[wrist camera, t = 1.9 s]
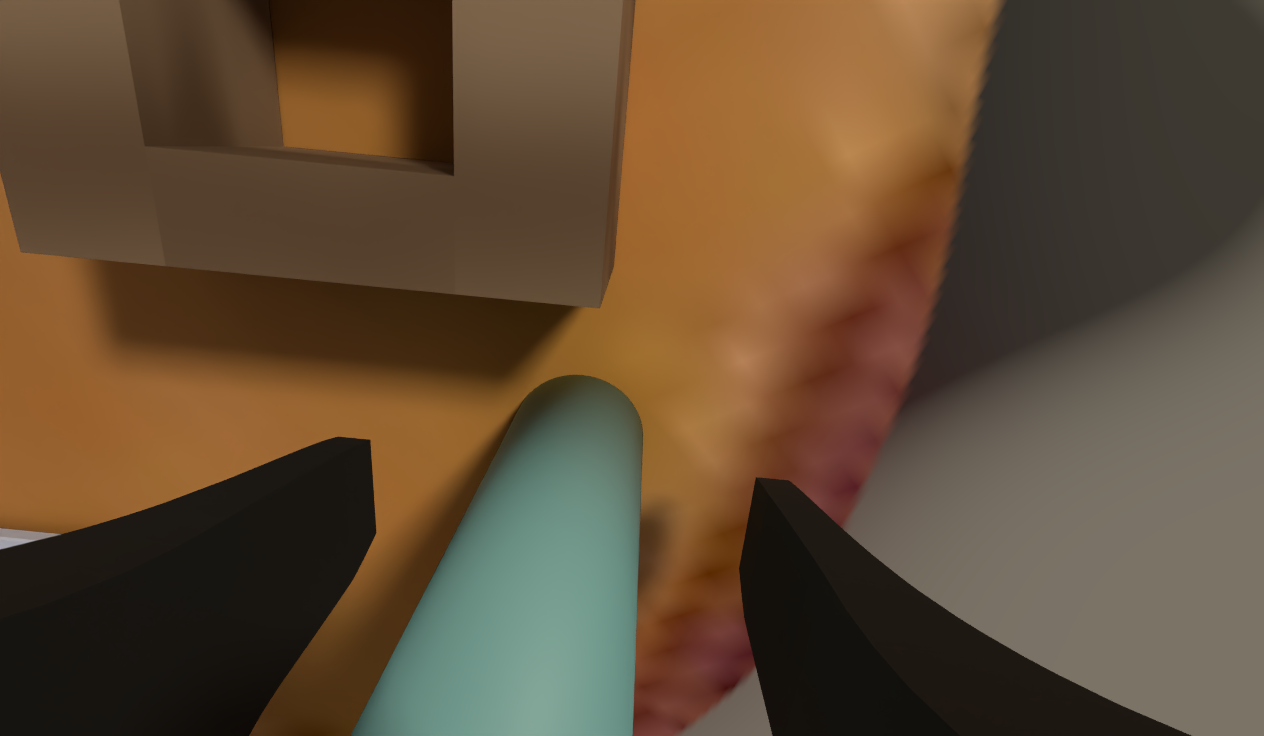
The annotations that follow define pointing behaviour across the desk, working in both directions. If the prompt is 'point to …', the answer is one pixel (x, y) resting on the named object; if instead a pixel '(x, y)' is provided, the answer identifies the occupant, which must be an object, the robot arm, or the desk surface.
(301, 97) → the desk surface
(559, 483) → the peg
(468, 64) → the hole block
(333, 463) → the robot arm
